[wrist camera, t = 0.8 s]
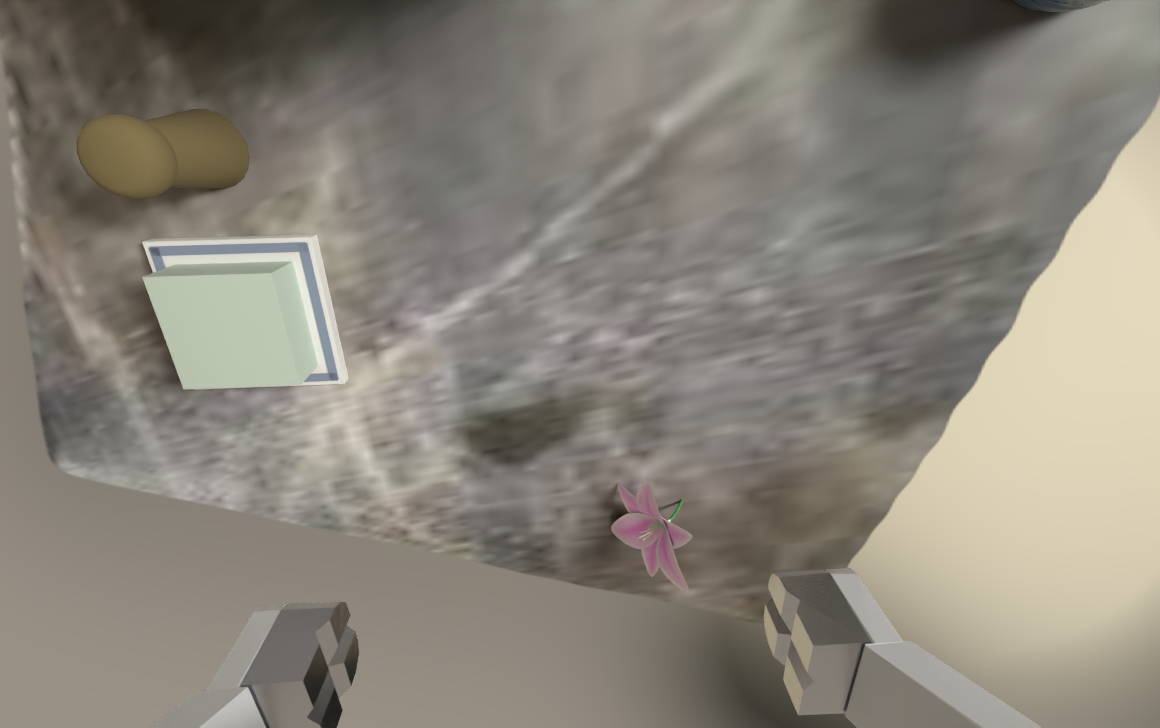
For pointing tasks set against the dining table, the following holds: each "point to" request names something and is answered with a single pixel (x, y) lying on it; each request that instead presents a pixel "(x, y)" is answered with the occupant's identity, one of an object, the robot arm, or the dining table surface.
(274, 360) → the butter dish
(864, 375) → the dining table surface
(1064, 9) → the canister
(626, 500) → the lily
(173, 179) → the cork
